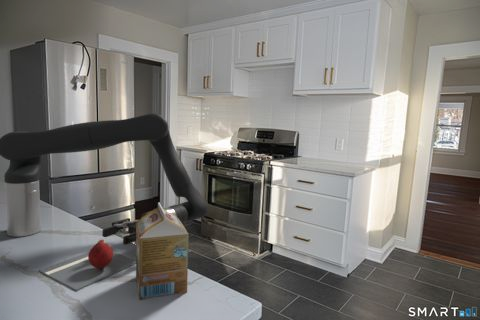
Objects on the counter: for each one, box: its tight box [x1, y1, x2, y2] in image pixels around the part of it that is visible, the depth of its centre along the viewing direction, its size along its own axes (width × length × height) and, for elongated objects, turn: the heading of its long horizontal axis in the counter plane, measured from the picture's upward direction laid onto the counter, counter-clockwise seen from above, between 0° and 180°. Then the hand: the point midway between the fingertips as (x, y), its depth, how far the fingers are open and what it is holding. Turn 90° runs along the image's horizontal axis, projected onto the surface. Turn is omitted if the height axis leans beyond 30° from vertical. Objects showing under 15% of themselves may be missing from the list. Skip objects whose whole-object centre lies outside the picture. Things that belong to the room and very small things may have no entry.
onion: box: [88, 238, 114, 270], centre depth 80 cm, size 6×6×8 cm
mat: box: [38, 250, 136, 292], centre depth 83 cm, size 16×18×1 cm
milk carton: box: [135, 201, 190, 301], centre depth 74 cm, size 11×11×19 cm
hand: (113, 237), depth 83 cm, fingers open, 8 cm apart
